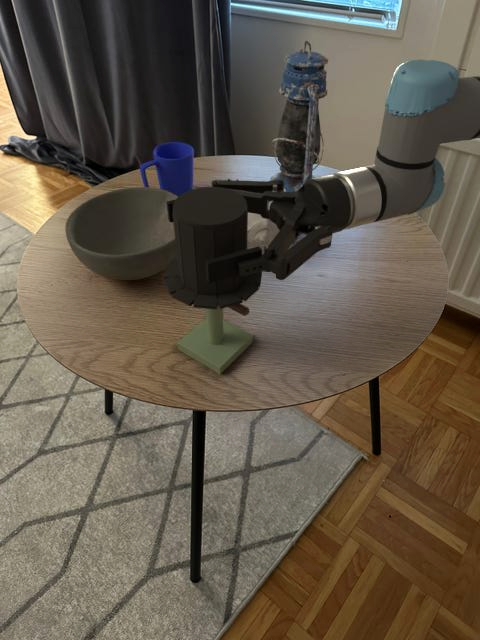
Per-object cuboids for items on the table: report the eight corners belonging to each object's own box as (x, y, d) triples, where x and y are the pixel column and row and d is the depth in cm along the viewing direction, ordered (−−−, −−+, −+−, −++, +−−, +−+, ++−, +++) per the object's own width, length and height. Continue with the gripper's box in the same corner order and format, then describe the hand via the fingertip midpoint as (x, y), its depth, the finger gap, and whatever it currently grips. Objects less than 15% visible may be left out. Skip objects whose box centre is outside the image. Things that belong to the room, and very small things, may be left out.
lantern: (256, 183, 109) (261, 32, 88) (308, 178, 111) (325, 28, 90) (275, 220, 98) (286, 57, 77) (332, 213, 100) (358, 52, 79)
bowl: (62, 253, 89) (47, 205, 82) (162, 221, 97) (157, 175, 90) (102, 317, 77) (89, 267, 70) (213, 275, 85) (211, 226, 78)
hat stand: (262, 347, 72) (270, 210, 56) (230, 380, 68) (228, 242, 52) (203, 315, 77) (194, 181, 61) (169, 344, 73) (150, 207, 57)
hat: (279, 270, 64) (285, 199, 57) (221, 323, 57) (218, 248, 50) (206, 238, 70) (203, 169, 62) (144, 282, 62) (132, 210, 55)
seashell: (270, 220, 98) (273, 174, 91) (303, 258, 89) (309, 210, 82) (214, 232, 94) (212, 186, 87) (241, 274, 85) (242, 225, 78)
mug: (135, 199, 103) (128, 155, 96) (181, 181, 109) (177, 138, 102) (157, 215, 99) (151, 169, 92) (204, 195, 105) (201, 151, 98)
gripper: (388, 279, 59) (227, 329, 52) (289, 186, 75) (158, 215, 69) (403, 226, 53) (227, 274, 47) (293, 138, 70) (152, 166, 63)
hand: (185, 239), depth 58 cm, fingers open, 13 cm apart
